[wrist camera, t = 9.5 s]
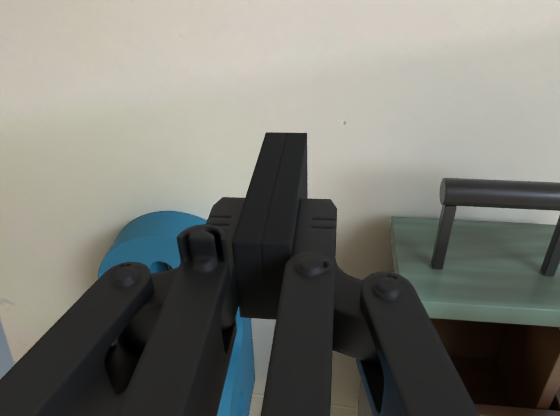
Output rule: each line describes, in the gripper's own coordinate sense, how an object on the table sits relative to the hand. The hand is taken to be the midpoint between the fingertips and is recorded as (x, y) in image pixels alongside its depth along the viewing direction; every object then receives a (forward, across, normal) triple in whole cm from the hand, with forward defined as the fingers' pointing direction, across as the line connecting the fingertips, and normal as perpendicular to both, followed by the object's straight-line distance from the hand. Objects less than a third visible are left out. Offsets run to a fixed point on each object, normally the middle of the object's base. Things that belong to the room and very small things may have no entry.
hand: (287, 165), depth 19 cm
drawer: (+11, +11, -13) cm, 20 cm away
